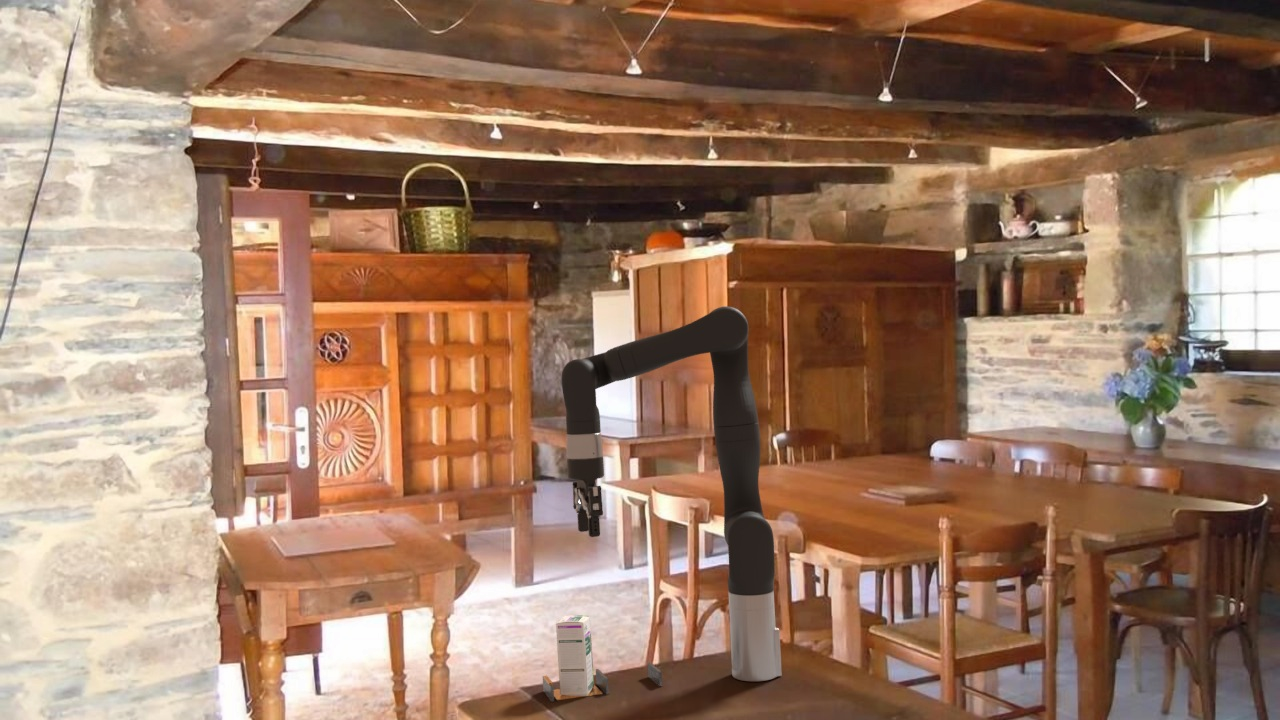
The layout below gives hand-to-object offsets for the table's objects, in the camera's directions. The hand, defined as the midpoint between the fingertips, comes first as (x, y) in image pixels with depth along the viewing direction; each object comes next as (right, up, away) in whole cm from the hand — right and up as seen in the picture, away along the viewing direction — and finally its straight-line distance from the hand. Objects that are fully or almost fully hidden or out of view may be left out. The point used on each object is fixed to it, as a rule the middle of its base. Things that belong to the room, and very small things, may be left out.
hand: (589, 533), depth 222 cm
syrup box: (-2, -30, -9) cm, 31 cm away
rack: (+3, -30, -8) cm, 31 cm away
